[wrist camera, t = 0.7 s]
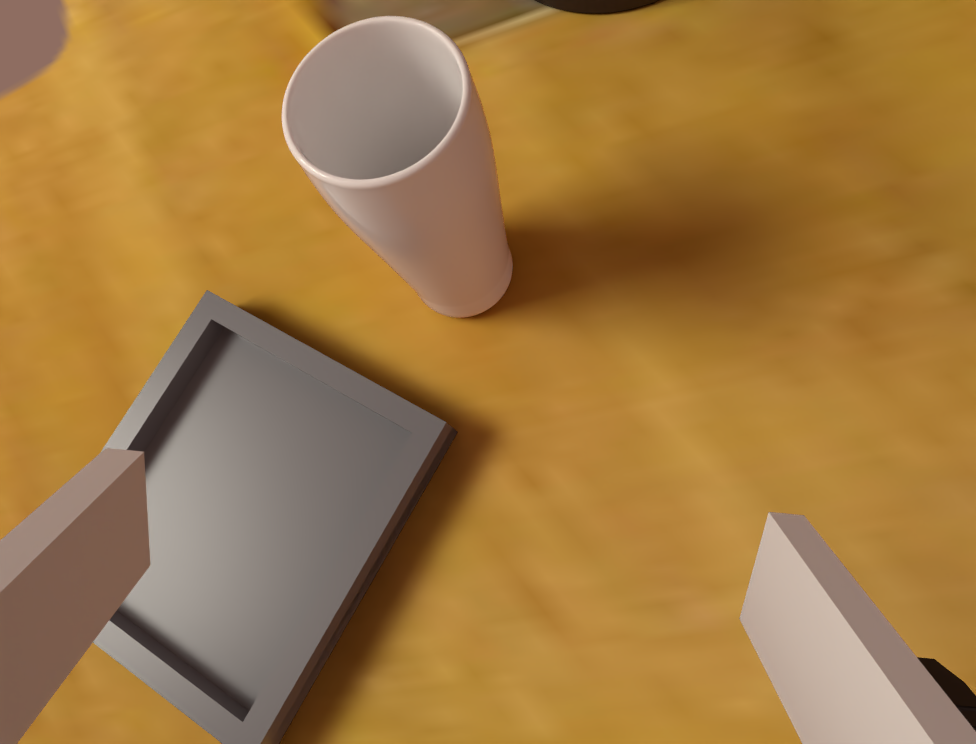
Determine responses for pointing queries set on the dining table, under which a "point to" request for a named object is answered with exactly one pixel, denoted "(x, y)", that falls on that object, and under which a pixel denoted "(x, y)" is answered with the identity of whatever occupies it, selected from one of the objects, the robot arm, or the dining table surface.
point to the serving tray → (259, 516)
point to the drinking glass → (404, 157)
